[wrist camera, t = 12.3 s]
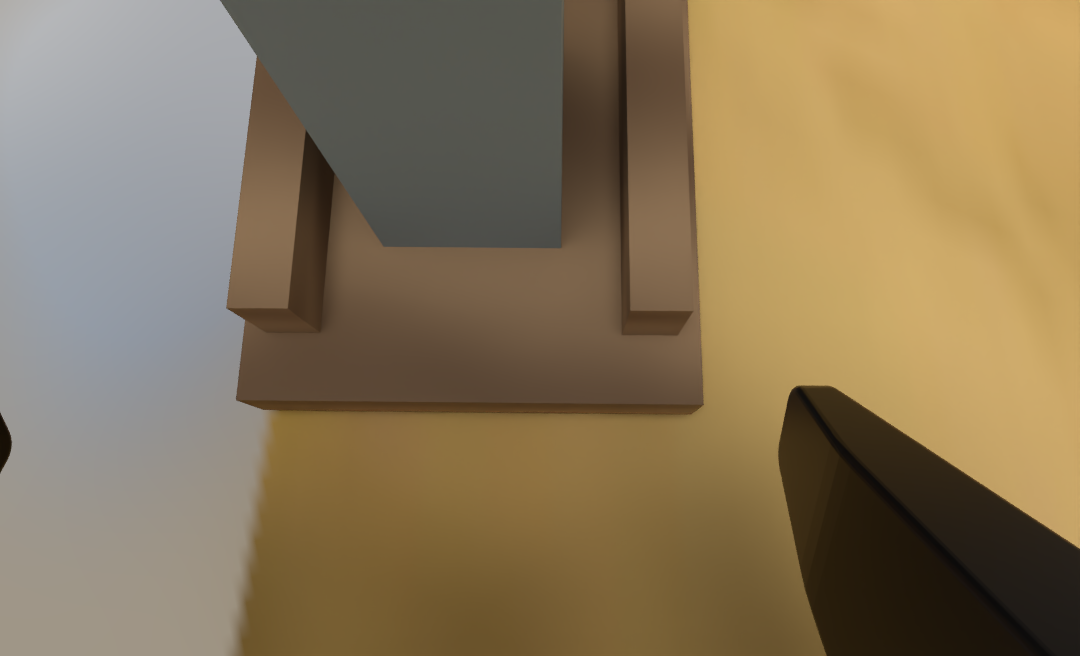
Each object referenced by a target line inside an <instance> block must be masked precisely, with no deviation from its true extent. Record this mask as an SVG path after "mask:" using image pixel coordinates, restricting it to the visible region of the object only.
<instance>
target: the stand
mask: <svg viewBox="0 0 1080 656" xmlns="http://www.w3.org/2000/svg"><path fill="white" fill-rule="evenodd" d="M226 308H227V309H229V310H230V311H232V312H234V313H235V314H237V315H238V316H240V317H242V318H243V319H245V327H244V336H243V344H242V353H241V362H240V370H239V379H238V388H237V396H236V400H237V401H240V402H243V403H246V404H249V405H251V406H254V407H257V408H260V409H263V410H350V411H447V412H544V413H641V414H692V413H693V412H695V411H696V410H697V409H699V408H700V407H701V406H703V405H704V404H703V379H702V354H701V329H700V304H699V279H698V254H697V229H696V204H695V179H694V155H693V130H692V105H691V80H690V55H689V30H688V5H687V0H564V60H563V136H562V212H561V248H472V247H384V246H383V245H382V243H381V242H380V240H379V239H378V237H377V236H376V234H375V233H374V231H373V230H372V228H371V227H370V225H369V224H368V222H367V221H366V219H365V218H364V216H363V215H362V213H361V212H360V210H359V209H358V207H357V206H356V204H355V203H354V201H353V200H352V198H351V197H350V195H349V194H348V192H347V191H346V189H345V188H344V186H343V185H342V183H341V182H340V180H339V179H338V177H337V176H336V174H335V173H334V171H333V170H332V168H331V167H330V165H329V164H328V162H327V161H326V159H325V158H324V156H323V155H322V153H321V152H320V150H319V149H318V147H317V145H316V144H315V142H314V141H313V139H312V138H311V136H310V135H309V133H308V132H307V130H306V129H305V127H304V126H303V124H302V123H301V121H300V120H299V118H298V117H297V115H296V114H295V112H294V111H293V109H292V108H291V106H290V105H289V103H288V102H287V100H286V99H285V97H284V96H283V94H282V93H281V91H280V90H279V88H278V87H277V85H276V84H275V82H274V81H273V79H272V78H271V76H270V75H269V73H268V72H267V70H266V69H265V67H264V66H263V64H262V63H261V61H260V60H259V58H258V57H257V61H256V68H255V76H254V85H253V93H252V101H251V109H250V118H249V126H248V134H247V143H246V151H245V159H244V167H243V176H242V184H241V192H240V200H239V208H238V217H237V226H236V233H235V241H234V250H233V258H232V266H231V274H230V282H229V290H228V299H227V307H226Z"/></svg>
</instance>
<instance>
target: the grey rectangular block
mask: <svg viewBox="0 0 1080 656" xmlns="http://www.w3.org/2000/svg"><path fill="white" fill-rule="evenodd" d="M220 1H221V2H222V4H223V5H224V7H225V8H226V10H227V11H228V13H229V14H230V16H231V17H232V19H233V20H234V22H235V23H236V25H237V26H238V28H239V29H240V31H241V32H242V34H243V35H244V37H245V38H246V40H247V41H248V43H249V44H250V46H251V47H252V49H253V50H254V52H255V53H256V55H257V57H258V58H259V60H260V61H261V63H262V64H263V66H264V67H265V69H266V70H267V72H268V73H269V75H270V76H271V78H272V79H273V81H274V82H275V84H276V85H277V87H278V88H279V90H280V91H281V93H282V94H283V96H284V97H285V99H286V100H287V102H288V103H289V105H290V106H291V108H292V109H293V111H294V112H295V114H296V115H297V117H298V118H299V120H300V121H301V123H302V124H303V126H304V127H305V129H306V130H307V132H308V133H309V135H310V136H311V138H312V139H313V141H314V142H315V144H316V145H317V147H318V149H319V150H320V152H321V153H322V155H323V156H324V158H325V159H326V161H327V162H328V164H329V165H330V167H331V168H332V170H333V171H334V173H335V174H336V176H337V177H338V179H339V180H340V182H341V183H342V185H343V186H344V188H345V189H346V191H347V192H348V194H349V195H350V197H351V198H352V200H353V201H354V203H355V204H356V206H357V207H358V209H359V210H360V212H361V213H362V215H363V216H364V218H365V219H366V221H367V222H368V224H369V225H370V227H371V228H372V230H373V231H374V233H375V234H376V236H377V237H378V239H379V240H380V242H381V243H382V245H383V246H384V247H472V248H561V212H562V136H563V60H564V0H220Z"/></svg>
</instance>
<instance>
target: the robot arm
mask: <svg viewBox="0 0 1080 656" xmlns="http://www.w3.org/2000/svg"><path fill="white" fill-rule="evenodd" d="M11 446H12V441H11V435H10V432H9V430H8V428H7V426H6V424H5V422H4V420H3V417H2V415H1V413H0V473H1V471H2V469H3V467H4V465H5V463H6V462H7V460H8V457H9V455H10V452H11ZM778 457H779V467H780V472H781V477H782V482H783V487H784V491H785V496H786V501H787V506H788V511H789V516H790V521H791V525H792V530H793V535H794V540H795V545H796V550H797V555H798V559H799V564H800V569H801V574H802V578H803V582H804V587H805V591H806V594H807V597H808V601H809V604H810V607H811V610H812V614H813V617H814V620H815V623H816V626H817V629H818V632H819V635H820V638H821V640H822V643H823V646H824V649H825V652H826V655H827V656H1080V549H1079V548H1078V547H1076V546H1075V545H1073V544H1072V543H1070V542H1069V541H1067V540H1066V539H1064V538H1063V537H1061V536H1060V535H1058V534H1057V533H1055V532H1054V531H1052V530H1050V529H1049V528H1047V527H1046V526H1044V525H1043V524H1041V523H1040V522H1038V521H1037V520H1035V519H1034V518H1032V517H1031V516H1029V515H1028V514H1026V513H1025V512H1023V511H1022V510H1020V509H1019V508H1017V507H1015V506H1014V505H1012V504H1011V503H1009V502H1008V501H1006V500H1005V499H1003V498H1002V497H1000V496H999V495H997V494H996V493H994V492H993V491H991V490H990V489H988V488H987V487H985V486H984V485H982V484H980V483H979V482H977V481H976V480H974V479H973V478H971V477H970V476H968V475H967V474H965V473H964V472H962V471H961V470H959V469H958V468H956V467H955V466H953V465H952V464H950V463H949V462H947V461H945V460H944V459H942V458H941V457H939V456H938V455H936V454H935V453H933V452H932V451H930V450H929V449H927V448H926V447H924V446H923V445H921V444H920V443H918V442H917V441H915V440H914V439H912V438H910V437H909V436H907V435H906V434H904V433H903V432H901V431H900V430H898V429H897V428H895V427H894V426H892V425H891V424H889V423H888V422H886V421H885V420H883V419H882V418H880V417H879V416H877V415H875V414H874V413H872V412H871V411H869V410H868V409H866V408H865V407H863V406H862V405H860V404H859V403H857V402H856V401H854V400H853V399H851V398H850V397H848V396H847V395H845V394H844V393H842V392H840V391H839V390H837V389H836V388H834V387H831V386H796V387H795V388H793V389H792V391H791V393H790V395H789V398H788V402H787V407H786V412H785V417H784V422H783V427H782V432H781V437H780V442H779V451H778Z"/></svg>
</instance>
